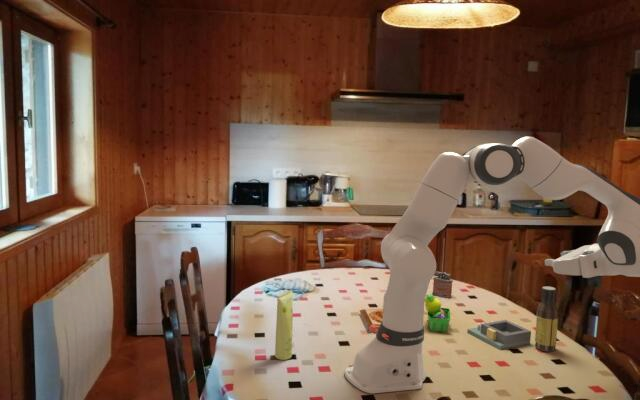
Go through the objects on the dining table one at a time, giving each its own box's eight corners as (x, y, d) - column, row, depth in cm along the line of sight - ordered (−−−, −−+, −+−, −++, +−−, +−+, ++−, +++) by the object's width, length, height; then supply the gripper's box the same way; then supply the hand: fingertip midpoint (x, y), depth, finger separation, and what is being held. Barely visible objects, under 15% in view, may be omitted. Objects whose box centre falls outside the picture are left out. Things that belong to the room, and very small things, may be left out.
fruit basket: (449, 333, 180) (452, 301, 178) (423, 331, 181) (425, 298, 180) (448, 322, 191) (450, 291, 189) (423, 319, 193) (425, 289, 191)
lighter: (452, 297, 220) (454, 273, 219) (449, 299, 217) (451, 275, 216) (433, 293, 224) (435, 270, 223) (431, 295, 221) (432, 271, 220)
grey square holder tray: (499, 349, 168) (500, 339, 168) (467, 332, 181) (468, 323, 181) (530, 343, 174) (530, 334, 173) (496, 327, 187) (497, 318, 187)
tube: (293, 360, 155) (295, 295, 152) (276, 361, 153) (278, 296, 151) (290, 352, 160) (292, 289, 157) (273, 353, 159) (275, 290, 156)
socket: (502, 345, 168) (502, 336, 168) (477, 332, 178) (478, 324, 178) (530, 340, 174) (531, 331, 173) (505, 328, 183) (505, 319, 183)
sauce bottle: (549, 344, 174) (555, 285, 171) (559, 352, 167) (565, 291, 165) (530, 344, 173) (536, 284, 171) (538, 352, 167) (544, 290, 164)
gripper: (615, 240, 157) (569, 240, 168) (581, 257, 144) (534, 255, 155) (618, 261, 157) (572, 259, 168) (585, 279, 145) (537, 277, 156)
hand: (554, 258), depth 161 cm, fingers open, 8 cm apart
